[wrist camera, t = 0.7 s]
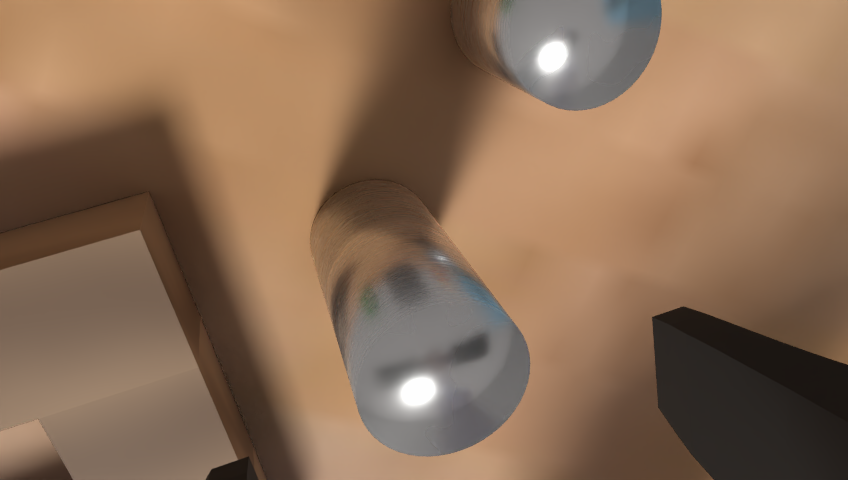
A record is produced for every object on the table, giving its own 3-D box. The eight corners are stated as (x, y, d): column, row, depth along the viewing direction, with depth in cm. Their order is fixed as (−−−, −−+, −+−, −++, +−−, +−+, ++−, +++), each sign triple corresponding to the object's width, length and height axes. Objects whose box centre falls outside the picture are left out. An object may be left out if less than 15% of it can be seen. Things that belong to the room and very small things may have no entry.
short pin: (581, 57, 19) (665, 86, 16) (463, 90, 19) (522, 128, 15) (567, -78, 18) (656, -80, 14) (438, -46, 17) (497, -40, 14)
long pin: (442, 272, 21) (540, 421, 14) (328, 309, 20) (379, 479, 14) (418, 164, 19) (516, 278, 13) (294, 200, 19) (335, 337, 12)
